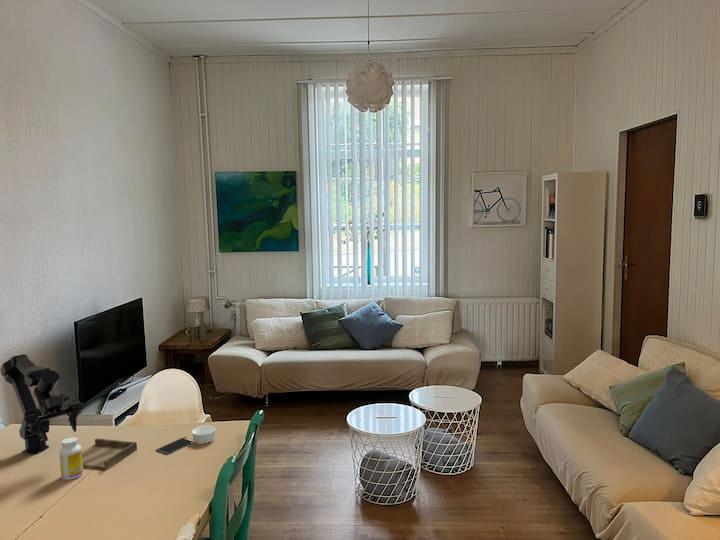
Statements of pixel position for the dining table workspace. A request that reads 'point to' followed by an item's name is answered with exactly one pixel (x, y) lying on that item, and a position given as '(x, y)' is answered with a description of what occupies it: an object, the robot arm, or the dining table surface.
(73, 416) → the robot arm
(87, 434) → the dining table surface
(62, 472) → the supplement bottle
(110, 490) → the dining table surface
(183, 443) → the cell phone
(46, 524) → the dining table surface
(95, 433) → the dining table surface
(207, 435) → the ramekin
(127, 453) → the dock board
